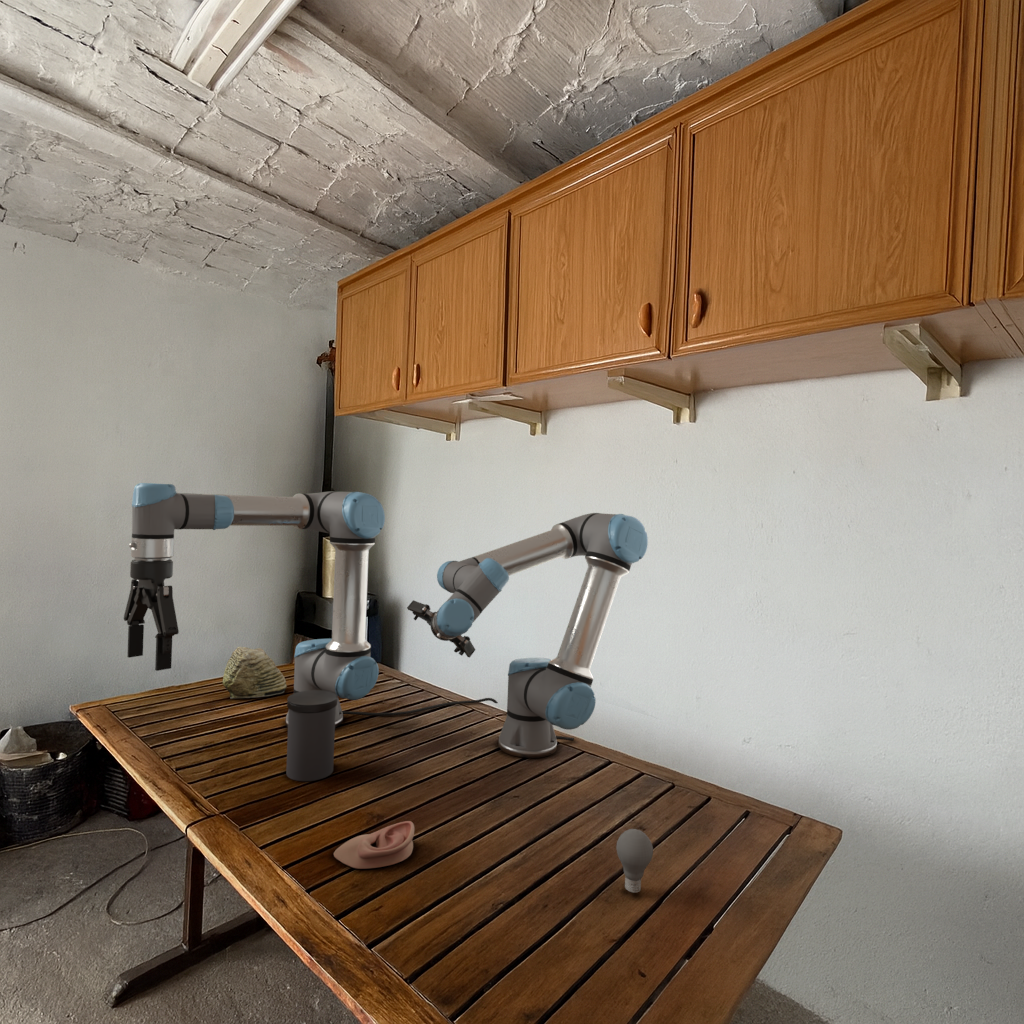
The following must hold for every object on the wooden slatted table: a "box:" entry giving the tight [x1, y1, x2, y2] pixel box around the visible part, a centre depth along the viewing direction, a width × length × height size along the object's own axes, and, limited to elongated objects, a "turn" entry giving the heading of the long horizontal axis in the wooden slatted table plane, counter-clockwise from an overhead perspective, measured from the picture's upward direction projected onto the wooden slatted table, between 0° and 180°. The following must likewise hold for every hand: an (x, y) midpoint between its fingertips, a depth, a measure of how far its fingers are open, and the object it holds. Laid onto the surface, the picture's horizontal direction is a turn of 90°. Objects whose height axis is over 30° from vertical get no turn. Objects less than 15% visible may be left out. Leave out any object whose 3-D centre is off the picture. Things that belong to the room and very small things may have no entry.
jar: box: [285, 706, 336, 782], centre depth 146 cm, size 10×10×17 cm
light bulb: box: [615, 828, 654, 894], centre depth 106 cm, size 6×6×10 cm
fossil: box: [222, 646, 288, 699], centre depth 198 cm, size 9×18×15 cm, turn 132°
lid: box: [286, 690, 339, 713], centre depth 145 cm, size 11×11×2 cm
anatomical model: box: [333, 820, 415, 870], centre depth 114 cm, size 13×4×12 cm
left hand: (148, 662), depth 129 cm, fingers open, 13 cm apart
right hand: (437, 631), depth 168 cm, fingers open, 13 cm apart
